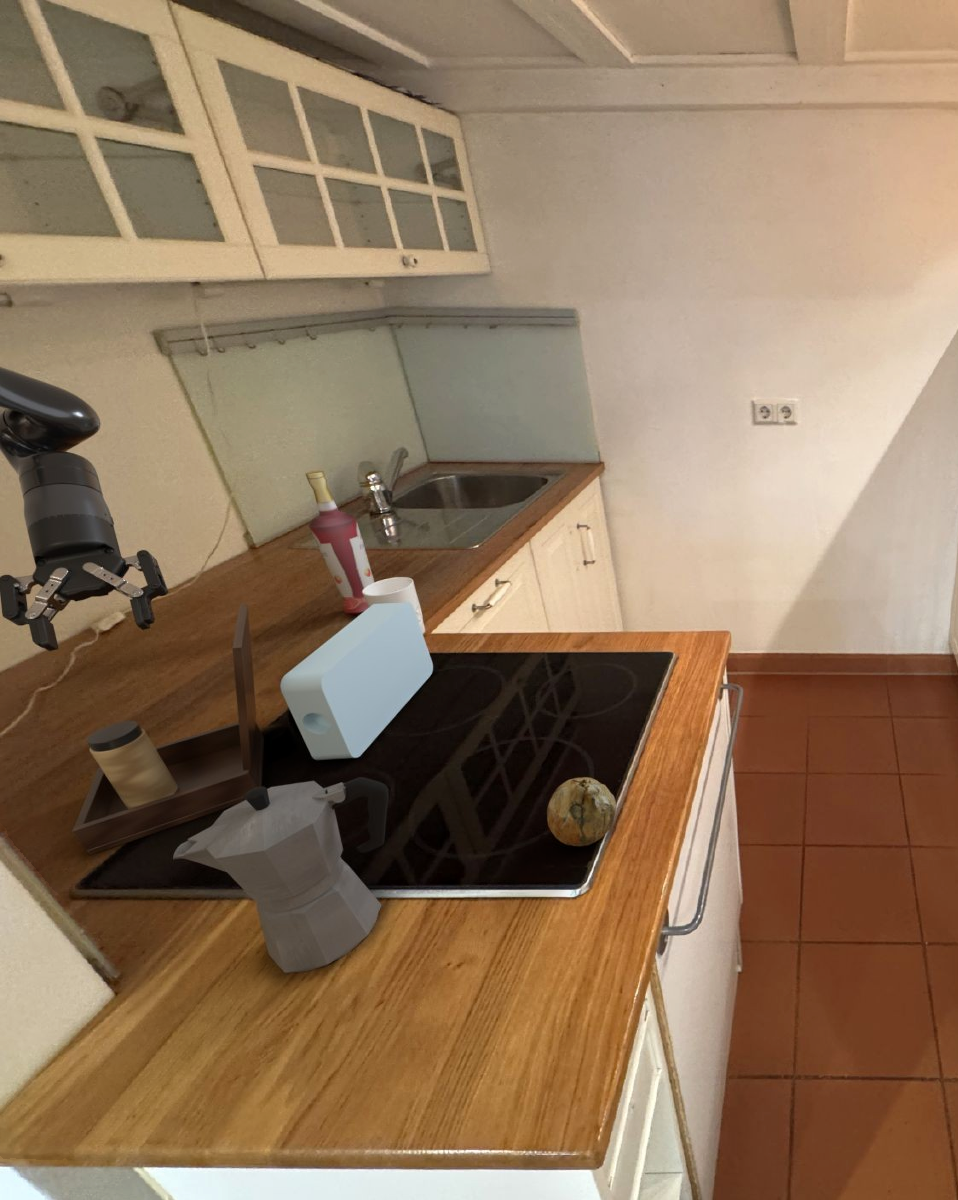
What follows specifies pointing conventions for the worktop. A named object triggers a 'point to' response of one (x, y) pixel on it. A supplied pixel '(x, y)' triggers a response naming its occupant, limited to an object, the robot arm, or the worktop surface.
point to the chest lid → (244, 686)
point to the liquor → (340, 546)
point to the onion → (581, 811)
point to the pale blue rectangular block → (358, 681)
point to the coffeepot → (297, 867)
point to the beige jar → (131, 763)
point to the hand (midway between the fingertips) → (98, 637)
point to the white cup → (394, 594)
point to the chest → (204, 787)
